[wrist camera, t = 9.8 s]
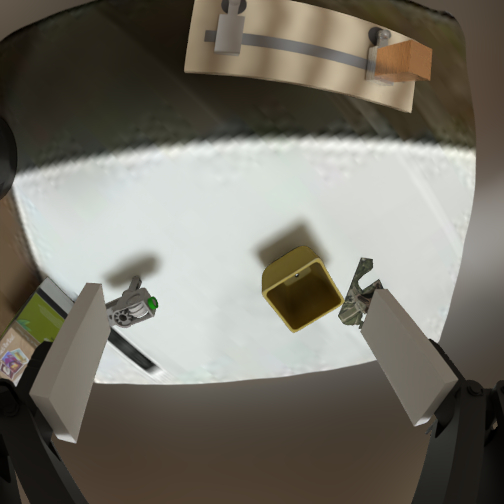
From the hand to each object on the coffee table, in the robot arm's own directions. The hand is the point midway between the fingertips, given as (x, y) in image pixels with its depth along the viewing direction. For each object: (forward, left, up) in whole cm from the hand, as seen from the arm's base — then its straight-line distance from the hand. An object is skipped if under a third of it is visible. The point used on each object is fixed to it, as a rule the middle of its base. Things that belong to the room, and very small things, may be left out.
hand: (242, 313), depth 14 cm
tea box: (-32, -26, -30) cm, 51 cm away
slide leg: (+18, +21, -28) cm, 39 cm away
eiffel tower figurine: (+28, -18, -31) cm, 45 cm away
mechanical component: (-13, -17, -30) cm, 37 cm away
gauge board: (+9, +20, -30) cm, 37 cm away
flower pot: (+11, -13, -30) cm, 35 cm away
